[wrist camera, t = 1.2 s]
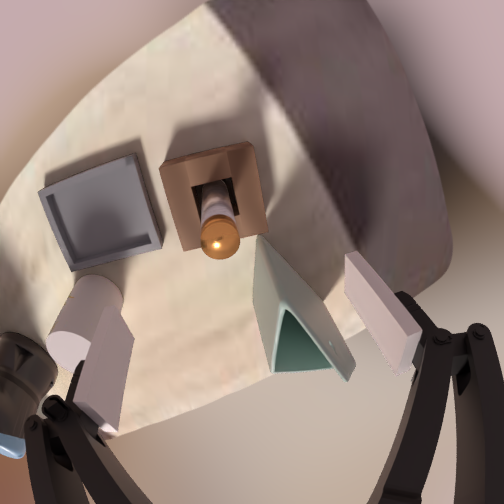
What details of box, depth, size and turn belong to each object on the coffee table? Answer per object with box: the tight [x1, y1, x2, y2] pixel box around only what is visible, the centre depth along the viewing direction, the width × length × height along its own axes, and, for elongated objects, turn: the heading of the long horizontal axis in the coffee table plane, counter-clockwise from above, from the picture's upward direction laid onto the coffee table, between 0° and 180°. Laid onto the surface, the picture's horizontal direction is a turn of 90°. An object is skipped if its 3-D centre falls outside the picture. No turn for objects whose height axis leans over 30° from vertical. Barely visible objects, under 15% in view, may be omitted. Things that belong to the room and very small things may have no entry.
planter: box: [253, 235, 356, 382], centre depth 34 cm, size 16×8×20 cm, turn 40°
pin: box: [201, 180, 240, 259], centre depth 28 cm, size 3×3×14 cm
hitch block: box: [159, 142, 269, 251], centre depth 33 cm, size 10×10×4 cm
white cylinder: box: [46, 274, 123, 373], centre depth 34 cm, size 8×8×12 cm
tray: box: [38, 153, 163, 272], centre depth 32 cm, size 14×12×2 cm
